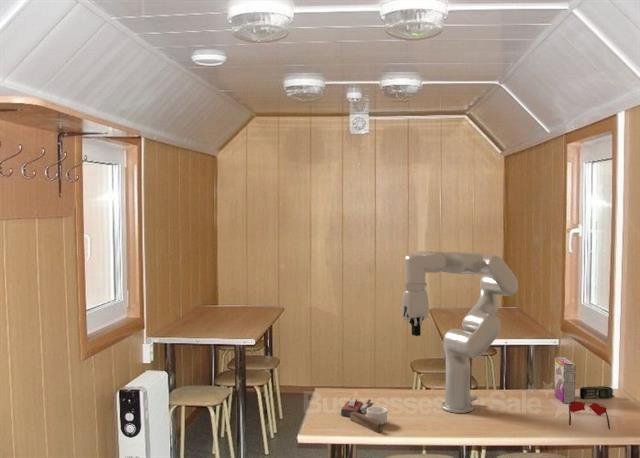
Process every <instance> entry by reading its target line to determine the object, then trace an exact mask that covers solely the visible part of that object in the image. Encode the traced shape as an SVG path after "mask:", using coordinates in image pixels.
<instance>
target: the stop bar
mask: <svg viewBox="0 0 640 458" xmlns="http://www.w3.org/2000/svg"><path fill="white" fill-rule="evenodd" d="M349 418H350V419H349V420H350V421H351V422H354V423H355V424H358V425H360V426H362V427H364V428H366V429H369V430H370V431H373V432H375V433H377V434H379V433H382V432H383V425H382V423H380V422H377V421H375V420H373V419H371V418H368V417H367V415H363V413H357V412H355V411H354V412H350V417H349Z"/></svg>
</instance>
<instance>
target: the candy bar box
mask: <svg viewBox="0 0 640 458" xmlns="http://www.w3.org/2000/svg"><path fill="white" fill-rule="evenodd" d="M554 397H556V398H557V399H559V401H560V402H561V403H562V404H567V405H568V404H570V403H571V401H572V402H574V401H576V363H574V362H573V361H571V360H570V359H569V358H567V357H562V356H561V357H559V356H557V357H554Z"/></svg>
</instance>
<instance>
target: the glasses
mask: <svg viewBox="0 0 640 458" xmlns="http://www.w3.org/2000/svg"><path fill="white" fill-rule="evenodd" d="M586 404H588V402H584V401H576V400H575V401H574V402H572V401H571V403H570V404H569V405H568V413H569V414H568V415H569V419H568V426H572V425H571V423H572V422H571V421H572V415H571V413H576V412H579V411H585V410H586V408H585V407H586ZM588 407H589V411H590V412H594V413H595V414H596V416H602V415H604V414H605V416H606V420H607V421H606V422H607V428H609V429H610V430H611V427H610V419H609V416H608V412H607V407H606V406H605V405H604V404H602V403H600V404H599V403H596V402H591V403H590V405H588ZM609 429H608V430H609Z"/></svg>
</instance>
